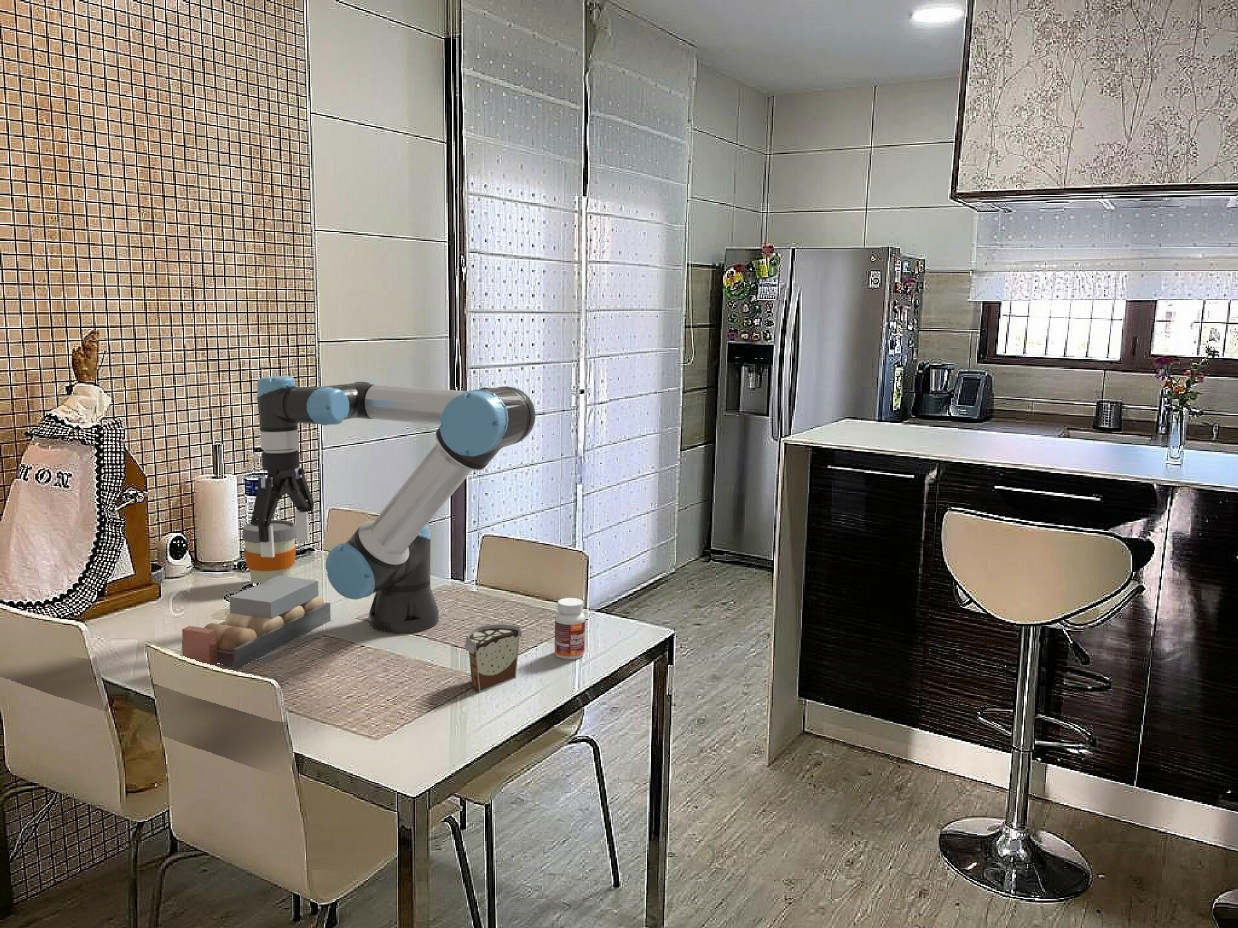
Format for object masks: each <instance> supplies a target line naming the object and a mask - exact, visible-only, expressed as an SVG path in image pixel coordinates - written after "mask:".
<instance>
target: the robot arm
mask: <svg viewBox="0 0 1238 928" xmlns="http://www.w3.org/2000/svg"><path fill="white" fill-rule="evenodd" d="M256 385H257V386H256V387H257V388H256V389H257V390H256V393H257V395H256V401H257V411H258V421H259V423H258V424H259V432H260V433H259V437H260V449H261V450H262V452H261V454H260V457H261V468H262V469H263V470H265V471H266V472H267V477H258V479H257V490H256V495H255V500H254V504H253V510H252V514H251V518H250V523H251V525H253V526H258V528H259V540H260V550H261V557H275V552H274V536H273V526H270V523H271V520H273V518H274V514H275V511H276V509H277V507H278V503H279V501H280V499H282V498H283V496H285V495H286V494H287V496H288V498H290V500H291V502H292V503H293V505H294V507H295V508H296V510H297V511H295V512H294V515H295V517H294V518H295V526H296V541H297V542H307V543H308V542H310V520H309V512H313V511H314V505H315V502H314V499H313V496H312V494H311V491H310V488H309V485H308V482H307V480H306V476H305V469H304V467H300V465H301V464H300V463H301V461H300V451H299V450H298V449H299V447H300V443H299V441H300V440H299V429H298V424H310V425H321V426H329V425H330V426H331V425H333V426H334V425H340V424H342V423H343V421H344V420H345V421H346V420H351V419H362V420H363V419H364V420H365V419H366V420H381V421H392V422H403V423H410V424H411V423H412V424H421V425H435V426H439V427H438V428H437V430H435V439H436V443H435V444H434V446H433V447H432V448H431V450H430V451H429V452H428V453H427V454H426V456H425V457H424V458H423V459H422V461H421V462H420V463H419V464H418V466H417V467H416V468H415V469H414V471H413V472H412V473H411V474H410V476H409V477H408V478H407V479H406V481H404V483H403V485H401V487H400V488H399V490H397V492H396V493H395V494H394V495H393V497H392V498H391V499H390V500H389V501H388V503H387V504H386V505H385V506H384V508H383V509H382V510H381V511H380V513H379V514H378V516H376V518H375V519H373V520H371V519H369V520H367V521H364V522H363V523H362V524H360V526H359V527H358V528H357V529H356V530H355V532H354V533H352V535H351V537H349V539H348V540H347V541H345V542H344V543H339V544H337V545H336V546H335V547H333V548H332V549H331V550H330V551H329V552H328V554H327V556H326V560H325V570H326V573H327V574H326V575H327V579H328V582H329V583H330V585H331V586H332V588H333V589H334V590H335V591H336V592H337V593H338V594H339V595H340V596H342V597H344V598H346V599H349V600H360V599H363V598H367V597H371V596H372V594H374V596H373V600H372V603H371V605H370V609H369V611H368V612H369V613H368V625H369V626H370V627H371V628H372V629H374V630H375V631H380V632H384V633H391V634H406V633H407V634H409V633H415V632H421V631H424V630H428V629H430V628H433V627H434V626H436V625H437V624H438V623H439V620H440V617H439V616H440V614H439V613H440V611H439V608H438V605H437V602H436V599H435V596H434V593H433V590H432V587H431V541H432V538H431V533H430V532H431V531H430V526H429V525H428V524H429V523H430V522H431V520H432V519H433V518H434V517H435V515H436V514H438V512H439V511H440V509H441V508H442V507H443V506H445V503H446V502H447V501H448V500H449V499H450V498H451V496H452V495H453V494H454V493H455V491H457V489H459V487H460V485H461V484H463V483H464V481H465V480H466V478H467V477H468V476H469V475H470V474H471V472H472V471H474V472H475V471H477V472H478V471H483V470H484V469H485V468H486V467H487V466H488V465H489V463H490V462H491V461H492V460H493V459H494V457H495V456H497V454H498V453H499V451H501V450H502V449H503V448H505V447H509V446H512V445H515V444H519V443H520V442H523V440H525V439H526V438H527V437H529V434H531V432H532V431H533V428H534V426H535V421H536V408H535V406H534V405H535V404H533V401H532V400H531V398H530V396H529V395H528V394H527V393H525V392H524V391H523V390H522V389H519V388H516V387H513V386H508V385H507V386H498V387H485V386H484V387H479V388H478V389H472V390H468V391H467V390H455V389H443V388H430V387H429V388H428V387H427V388H426V387H413V386H401V385H400V386H398V385H389V384H387V385H385V384H384V385H383V384H375V383H374V382H369V381H355V382H351V383H345V384H335V385H334V384H333V385H324V386H314V387H313V386H311V387H310V386H308V387H307V386H304V387H303V386H297V384H296V379H295V378H294V377H293V376H288V375H287V376H286V375H279V376H278V375H275V376H274V375H273V376H271V375H270V376H262V377H260V378H259V379H258V380H257V383H256Z"/></svg>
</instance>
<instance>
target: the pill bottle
mask: <svg viewBox="0 0 1238 928" xmlns="http://www.w3.org/2000/svg"><path fill="white" fill-rule="evenodd" d="M583 610H584V602H583V600H582V599H580V598H577V597H576V598H575V597H564V598H561V599H559V600H558V601H557V611H558V612H557V613H556V614H555V616H554V655H555V656H556V657H557V658H559V659H561V660H562V659H563V660H569V661H571V660H572V661H573V660H577V659H580V658H582V657H584V655H585V650H586V649H585V648H586V646H585V645H586V644H585V640H586V616H585V614H584V613H583Z"/></svg>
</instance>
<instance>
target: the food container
mask: <svg viewBox="0 0 1238 928" xmlns="http://www.w3.org/2000/svg"><path fill="white" fill-rule="evenodd" d="M520 637H523V634H522V629H521V626H519V625H514V624H506V623H495V624H487V625H481V626H478V627H475V628H472V629H471V630H470V631H469V632H468V633H467V636H466V638H465V643H464V648H465V650H466V651H467V652H468V657H469V666H470V667H469V668H470V669H469V670H470V679H471V680H470V681H471V687H472V689H473V690H474V692H476V693H478V694H480V693H483V692H485V691H488V690H490V689H492V688H495V687H497V686H500V685H502V684H505V683H507V682H509V681H512V680H515V679H516V678H517V670H518V669H517V668H518V659H519V658H518V656H519V646H520Z"/></svg>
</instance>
